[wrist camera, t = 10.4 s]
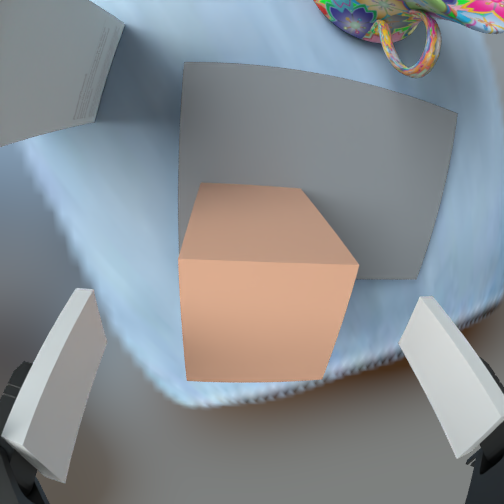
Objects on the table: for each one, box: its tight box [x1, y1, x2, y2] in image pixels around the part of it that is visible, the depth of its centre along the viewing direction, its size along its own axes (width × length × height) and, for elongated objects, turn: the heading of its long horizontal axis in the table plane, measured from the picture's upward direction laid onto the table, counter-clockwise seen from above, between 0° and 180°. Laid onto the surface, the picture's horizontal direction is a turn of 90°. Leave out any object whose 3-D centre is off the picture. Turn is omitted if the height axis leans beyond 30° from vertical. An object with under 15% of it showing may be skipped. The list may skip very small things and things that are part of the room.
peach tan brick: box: [178, 183, 359, 382], centre depth 16 cm, size 6×6×10 cm
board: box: [178, 62, 457, 279], centre depth 20 cm, size 14×19×2 cm
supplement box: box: [0, 0, 125, 147], centre depth 9 cm, size 7×7×13 cm
